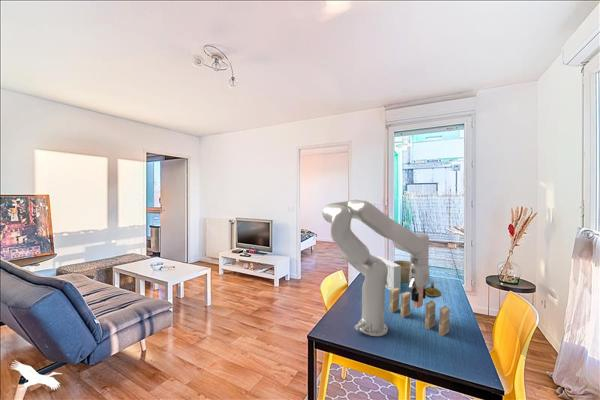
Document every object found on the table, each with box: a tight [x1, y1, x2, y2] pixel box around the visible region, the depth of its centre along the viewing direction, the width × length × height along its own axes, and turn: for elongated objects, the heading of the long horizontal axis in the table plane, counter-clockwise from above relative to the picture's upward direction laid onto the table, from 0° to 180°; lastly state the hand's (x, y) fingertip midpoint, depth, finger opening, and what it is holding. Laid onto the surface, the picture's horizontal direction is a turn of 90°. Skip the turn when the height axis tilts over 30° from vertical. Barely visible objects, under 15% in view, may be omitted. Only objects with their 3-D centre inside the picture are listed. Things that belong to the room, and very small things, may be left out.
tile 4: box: [438, 305, 451, 337], centre depth 110 cm, size 2×5×11 cm, turn 126°
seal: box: [425, 282, 442, 298], centre depth 151 cm, size 9×5×15 cm
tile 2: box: [412, 284, 424, 309], centre depth 119 cm, size 2×5×11 cm, turn 126°
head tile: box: [389, 288, 400, 314], centre depth 129 cm, size 2×5×11 cm, turn 126°
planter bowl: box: [393, 260, 411, 284], centre depth 170 cm, size 16×16×11 cm
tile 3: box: [424, 300, 437, 330], centre depth 115 cm, size 2×5×11 cm, turn 126°
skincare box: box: [375, 255, 402, 293], centre depth 161 cm, size 21×6×16 cm, turn 17°
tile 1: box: [400, 291, 411, 318], centre depth 124 cm, size 2×5×11 cm, turn 126°
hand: (418, 298), depth 119 cm, fingers closed on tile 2, 4 cm apart
